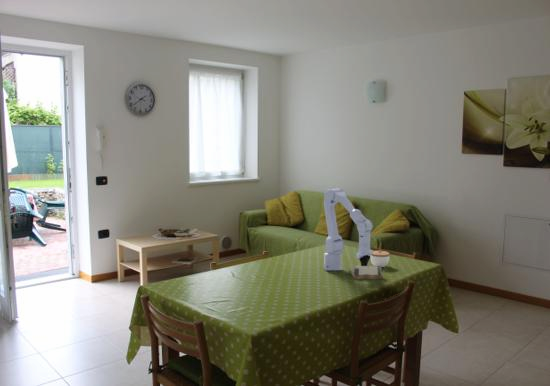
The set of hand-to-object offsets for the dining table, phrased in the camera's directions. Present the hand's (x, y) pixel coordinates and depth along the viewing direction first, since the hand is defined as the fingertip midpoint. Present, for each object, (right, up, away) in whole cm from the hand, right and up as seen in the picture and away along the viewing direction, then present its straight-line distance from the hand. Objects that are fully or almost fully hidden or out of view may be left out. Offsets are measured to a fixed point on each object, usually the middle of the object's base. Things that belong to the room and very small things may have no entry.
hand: (364, 269), depth 254 cm
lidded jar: (+12, -2, +20) cm, 23 cm away
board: (+1, -3, +2) cm, 4 cm away
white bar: (+2, -2, -2) cm, 3 cm away
